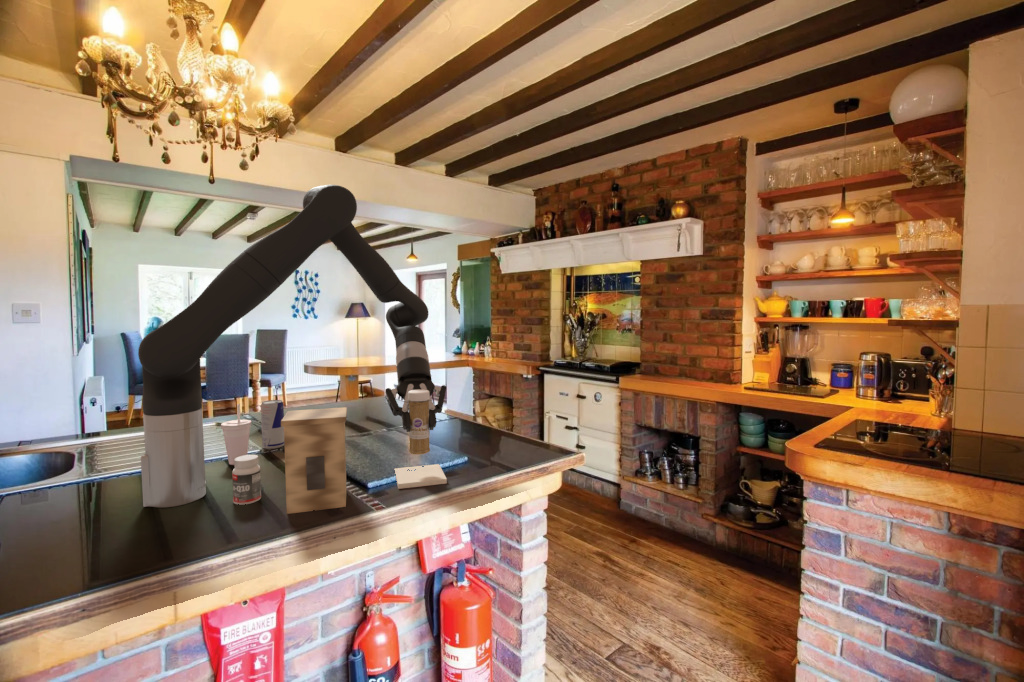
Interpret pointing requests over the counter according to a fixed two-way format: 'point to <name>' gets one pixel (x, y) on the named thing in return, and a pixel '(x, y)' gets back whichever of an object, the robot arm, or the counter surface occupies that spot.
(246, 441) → the smoothie
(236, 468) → the pill bottle
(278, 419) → the energy drink
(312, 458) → the box
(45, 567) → the counter surface
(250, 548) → the counter surface
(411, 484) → the tile
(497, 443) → the counter surface
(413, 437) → the sprinkles bottle
